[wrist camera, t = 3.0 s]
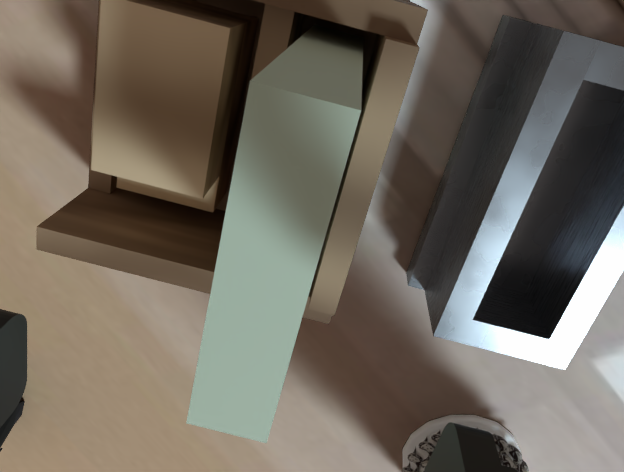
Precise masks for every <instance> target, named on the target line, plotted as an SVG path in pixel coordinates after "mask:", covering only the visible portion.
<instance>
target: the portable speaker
mask: <svg viewBox="0 0 624 472" xmlns="http://www.w3.org/2000/svg"><path fill="white" fill-rule="evenodd" d="M23 406H24V401H20V402H19V404H18V405H17V407H16V409H15V410H14V412H13V413H12V414H11V415H10V417H9V418H8V419H7V420H6V421H5V423H4V424H3V425H2V426H1V428H0V447H1V446H2V444H3V442H4V441H5V439H6V437H7V436H8V434H9V432H10V431H11V429H12V427H13V426H14V424H15V423H16V422H17V420H18V419H19V418H20V416H21V415H22V411H23ZM1 450H2V448H1V449H0V451H1Z"/></svg>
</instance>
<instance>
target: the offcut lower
mask: <svg viewBox="0 0 624 472" xmlns="http://www.w3.org/2000/svg"><path fill="white" fill-rule="evenodd" d="M164 1H167V2H171V3H175V4H179V5H182V6H186V7H190V8H193V9H197V10H201V11H205V12H208V13H212V14H216V15H220V16H223V17H227V18H231V19H234V20H238V21H242V22H246V26H245V32H244V38H243V43H242V49H241V55H240V61H239V66H238V72H237V78H236V84H235V89H234V95H233V101H232V107H231V112H230V118H229V124H228V130H227V135H226V141H225V147H224V153H223V158H222V164H221V170H220V175H219V177H218V179H217V180H216V181H215V183H214V184H213V185H212V187H211V188H210V190H209V191H208V192H207V194H206V195H205V196H204V198H203V199H201V198H197V197H193V196H190V195H186V194H182V193H178V192H174V191H170V190H166V189H163V188H159V187H155V186H151V185H147V184H143V183H140V182H136V181H132V180H128V179H124V178H120V177H117V186H116V187H117V188H120V189H124V190H128V191H132V192H136V193H140V194H144V195H147V196H151V197H155V198H159V199H163V200H167V201H170V202H174V203H178V204H182V205H186V206H190V207H194V208H197V209H201V210H205V211H209V212H214V210H215V209H216V207H217V206H218V204H219V203H220V201H221V200H222V198H223V197H224V195H225V194H226V192H227V188H228V183H229V177H230V172H231V166H232V161H233V155H234V150H235V145H236V139H237V134H238V128H239V123H240V117H241V112H242V106H243V101H244V95H245V90H246V85H247V79H248V74H249V68H250V63H251V57H252V52H253V46H254V41H255V36H256V30H257V25H258V19H259V18H256V17H252V16H249V15H245V14H241V13H238V12H234V11H230V10H226V9H223V8H219V7H215V6H212V5H208V4H204V3H200V2H197V1H193V0H164Z"/></svg>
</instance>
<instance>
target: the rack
mask: <svg viewBox="0 0 624 472" xmlns="http://www.w3.org/2000/svg"><path fill="white" fill-rule="evenodd" d="M193 1H197V2H200V3H204V4H208V5H212V6H215V7H219V8H223V9H226V10H230V11H234V12H238V13H241V14H245V15H249V16H252V17H256V18H259V19H258V25H257V30H256V36H255V41H254V46H253V52H252V57H251V63H250V68H249V74H248V79H247V85H246V90H245V95H244V101H243V106H242V112H241V117H240V123H239V128H238V134H237V139H236V145H235V150H234V155H233V161H232V166H231V172H230V177H229V183H228V188H227V192H226V194H225V195H224V197H223V198H222V200H221V201H220V203H219V204H218V206H217V207H216V209H215V210H214V212H209V211H205V210H201V209H197V208H194V207H190V206H186V205H182V204H178V203H174V202H170V201H167V200H163V199H159V198H155V197H151V196H147V195H144V194H140V193H136V192H132V191H128V190H124V189H120V188H117V187H116V186H117V177H116V176H113V175H109V174H105V173H101V172H97V171H93V170H91V161H92V143H93V126H94V109H95V92H96V75H97V58H98V40H99V23H100V6H101V0H99V8H98V26H97V43H96V61H95V79H94V96H93V114H92V131H91V149H90V167H89V184H88V189H86V190H85V191H84V192H82V193H81V194H80V195H78V196H77V197H76V198H74V199H73V200H72V201H70V202H69V203H68V204H66V205H65V206H64V207H62V208H61V209H60V210H58V211H57V212H56V213H54V214H53V215H52V216H50V217H49V218H48V219H46V220H45V221H44V222H42V223H41V224H40V225H38V226H37V250H41V251H45V252H49V253H53V254H57V255H60V256H64V257H68V258H72V259H76V260H80V261H84V262H88V263H92V264H96V265H100V266H103V267H107V268H111V269H115V270H119V271H123V272H127V273H131V274H135V275H139V276H143V277H146V278H150V279H154V280H158V281H162V282H166V283H170V284H174V285H178V286H182V287H185V288H189V289H193V290H197V291H201V292H205V293H209V294H210V293H211V288H212V282H213V277H214V272H215V266H216V261H217V255H218V250H219V245H220V239H221V234H222V229H223V223H224V218H225V212H226V207H227V202H228V196H229V191H230V185H231V180H232V175H233V169H234V164H235V159H236V153H237V148H238V142H239V137H240V132H241V126H242V121H243V115H244V110H245V105H246V99H247V94H248V89H249V83H250V80H252V79H253V78H254V77H255V76H256V75H257V74H258V73H260V72H261V71H262V70H263V69H264V68H265V67H266V66H268V65H269V64H270V63H271V62H272V61H273V60H275V59H276V58H277V57H278V56H279V55H280V54H281V53H283V52H284V51H285V50H286V49H287V48H288V47H289V46H291V45H292V44H293V43H294V42H295V41H296V40H297V39H299V38H300V37H301V36H302V35H303V34H304V33H306V32H307V31H308V30H309V29H310V28H311V27H312V26H314V25H315V24H316V25H320V26H324V27H327V28H331V29H335V30H339V31H342V32H346V33H350V34H353V35H357V36H361V37H364V41H363V71H362V102H361V113H360V117H359V120H358V124H357V127H356V131H355V134H354V138H353V141H352V145H351V148H350V152H349V155H348V159H347V162H346V166H345V169H344V173H343V176H342V180H341V183H340V187H339V190H338V194H337V197H336V201H335V204H334V208H333V211H332V215H331V218H330V222H329V225H328V229H327V232H326V236H325V239H324V243H323V246H322V250H321V253H320V257H319V260H318V264H317V267H316V271H315V275H314V278H313V282H312V285H311V289H310V292H309V296H308V299H307V303H306V306H305V310H304V313H303V318H307V319H311V320H314V321H318V322H322V323H326V324H329V323H330V319H331V316H332V315H333V316H334V315H335V312H336V309H337V306H338V303H339V300H340V297H341V293H342V290H343V287H344V284H345V281H346V278H347V274H348V271H349V268H350V265H351V262H352V259H353V256H354V252H355V249H356V246H357V243H358V240H359V237H360V234H361V230H362V227H363V224H364V221H365V218H366V215H367V211H368V208H369V205H370V202H371V199H372V196H373V193H374V189H375V186H376V183H377V180H378V177H379V174H380V171H381V167H382V164H383V161H384V158H385V155H386V152H387V148H388V145H389V142H390V139H391V136H392V133H393V130H394V126H395V123H396V120H397V117H398V114H399V111H400V108H401V104H402V101H403V98H404V95H405V92H406V89H407V85H408V82H409V79H410V76H411V73H412V70H413V67H414V63H415V60H416V57H417V54H418V51H419V46H418V45H417V43H418V40H419V37H420V33H421V30H422V27H423V24H424V21H425V17H426V14H427V11H428V10H427V9H425V8H423V7H421V6H419V5H417V4H415V3H412V2H410V1H406V0H193Z"/></svg>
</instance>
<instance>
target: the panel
mask: <svg viewBox="0 0 624 472" xmlns="http://www.w3.org/2000/svg"><path fill="white" fill-rule="evenodd" d="M363 41H364V37H361V36H357V35H353V34H350V33H346V32H342V31H339V30H335V29H331V28H327V27H324V26H320V25H316V24H315V25H314V26H312V27H311V28H310V29H309V30H308V31H307V32H306V33H304V34H303V35H302V36H301V37H300V38H299V39H297V40H296V41H295V42H294V43H293V44H292V45H291V46H289V47H288V48H287V49H286V50H285V51H284V52H283V53H281V54H280V55H279V56H278V57H277V58H276V59H275V60H273V61H272V62H271V63H270V64H269V65H268V66H266V67H265V68H264V69H263V70H262V71H261V72H260V73H258V74H257V75H256V76H255V77H254V78H253V79H252V80H250V83H249V89H248V94H247V99H246V105H245V110H244V115H243V121H242V126H241V132H240V137H239V142H238V148H237V153H236V159H235V164H234V169H233V175H232V180H231V185H230V191H229V196H228V202H227V207H226V212H225V218H224V223H223V229H222V234H221V239H220V245H219V250H218V255H217V261H216V266H215V272H214V277H213V282H212V288H211V293H210V299H209V304H208V309H207V315H206V320H205V326H204V331H203V336H202V342H201V347H200V352H199V358H198V363H197V369H196V374H195V379H194V385H193V390H192V396H191V401H190V406H189V412H188V417H187V422H186V423H188V424H192V425H196V426H200V427H204V428H208V429H212V430H216V431H220V432H224V433H228V434H232V435H236V436H240V437H244V438H248V439H252V440H256V441H260V442H264V443H267V440H268V436H269V432H270V429H271V425H272V422H273V418H274V415H275V411H276V408H277V404H278V401H279V397H280V394H281V390H282V387H283V383H284V380H285V376H286V373H287V369H288V366H289V362H290V359H291V355H292V352H293V348H294V345H295V341H296V338H297V334H298V331H299V327H300V324H301V320H302V317H303V313H304V310H305V306H306V303H307V299H308V296H309V292H310V289H311V285H312V282H313V278H314V275H315V271H316V267H317V264H318V260H319V257H320V253H321V250H322V246H323V243H324V239H325V236H326V232H327V229H328V225H329V222H330V218H331V215H332V211H333V208H334V204H335V201H336V197H337V194H338V190H339V187H340V183H341V180H342V176H343V173H344V169H345V166H346V162H347V159H348V155H349V152H350V148H351V145H352V141H353V138H354V134H355V131H356V127H357V124H358V120H359V117H360V113H361V102H362V71H363Z"/></svg>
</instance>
